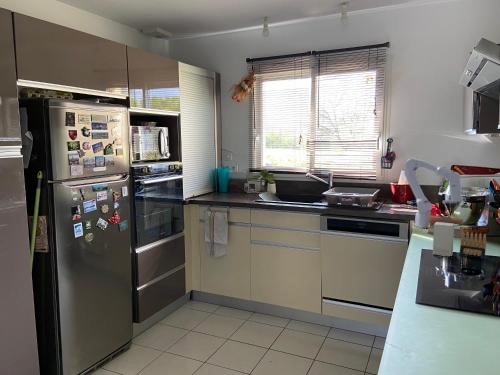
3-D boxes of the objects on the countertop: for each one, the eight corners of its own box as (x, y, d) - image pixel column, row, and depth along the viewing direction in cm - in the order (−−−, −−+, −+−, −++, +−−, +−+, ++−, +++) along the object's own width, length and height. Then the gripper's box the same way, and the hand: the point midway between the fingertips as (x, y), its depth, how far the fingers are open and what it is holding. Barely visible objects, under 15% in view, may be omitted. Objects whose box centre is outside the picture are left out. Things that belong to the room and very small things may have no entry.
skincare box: (452, 255, 191) (455, 223, 188) (450, 258, 185) (453, 226, 183) (434, 252, 195) (436, 221, 193) (431, 255, 190) (433, 223, 188)
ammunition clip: (485, 258, 186) (487, 233, 185) (484, 259, 185) (487, 234, 183) (459, 254, 192) (461, 230, 190) (459, 255, 190) (461, 231, 189)
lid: (428, 222, 244) (428, 220, 244) (461, 225, 236) (461, 224, 236) (428, 216, 232) (429, 215, 233) (463, 219, 225) (463, 218, 225)
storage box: (428, 229, 244) (428, 222, 243) (461, 232, 236) (461, 225, 236) (427, 233, 233) (428, 226, 233) (462, 236, 226) (462, 230, 225)
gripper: (442, 194, 235) (444, 216, 236) (470, 192, 230) (472, 215, 230) (441, 193, 242) (443, 215, 242) (468, 191, 236) (470, 213, 236)
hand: (457, 215), depth 237 cm, fingers open, 7 cm apart
